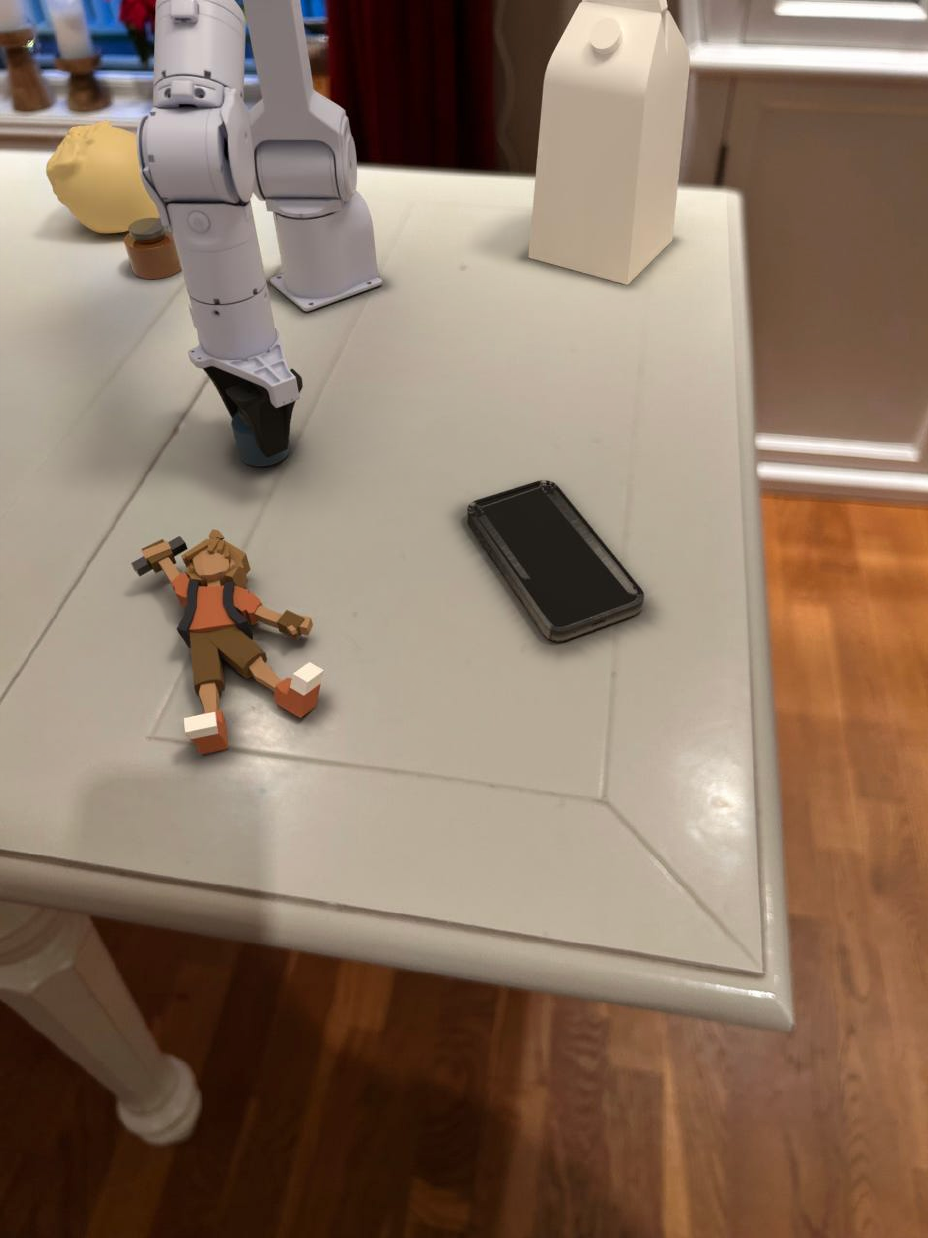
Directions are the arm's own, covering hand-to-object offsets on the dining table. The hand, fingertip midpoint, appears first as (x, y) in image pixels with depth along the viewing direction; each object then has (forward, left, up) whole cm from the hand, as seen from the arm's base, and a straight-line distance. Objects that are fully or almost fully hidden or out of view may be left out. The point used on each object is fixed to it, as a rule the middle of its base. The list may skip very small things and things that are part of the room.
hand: (261, 436), depth 77 cm
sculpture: (-7, -50, -2) cm, 51 cm away
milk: (-47, -10, -2) cm, 48 cm away
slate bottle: (0, 0, -1) cm, 1 cm away
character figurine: (+12, +18, -2) cm, 22 cm away
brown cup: (-6, -37, -2) cm, 38 cm away
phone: (-11, +25, -2) cm, 27 cm away
